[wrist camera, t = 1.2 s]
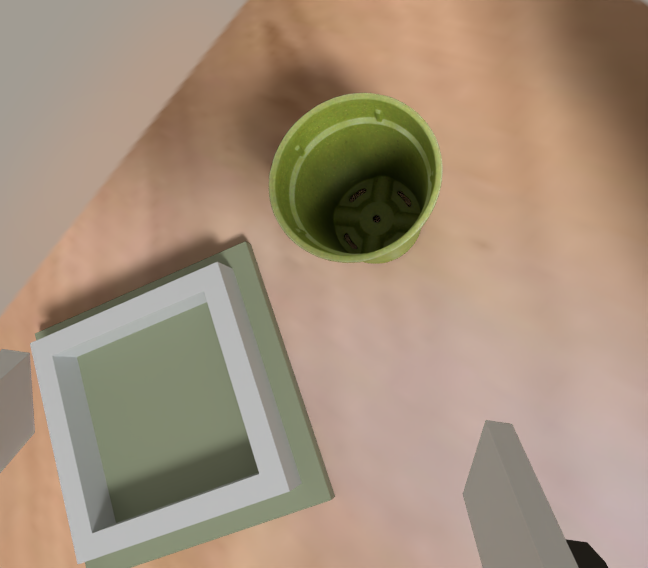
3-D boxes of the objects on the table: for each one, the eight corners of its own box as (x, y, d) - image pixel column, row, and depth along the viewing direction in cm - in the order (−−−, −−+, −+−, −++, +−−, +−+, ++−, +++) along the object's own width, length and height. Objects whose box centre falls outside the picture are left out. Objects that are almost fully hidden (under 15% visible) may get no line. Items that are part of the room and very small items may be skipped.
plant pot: (285, 215, 39) (236, 171, 31) (387, 127, 38) (366, 58, 30) (365, 316, 36) (336, 298, 28) (477, 225, 35) (481, 179, 27)
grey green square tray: (250, 244, 39) (230, 232, 36) (334, 496, 35) (321, 509, 31) (44, 334, 42) (8, 331, 39) (98, 576, 38) (63, 595, 34)
